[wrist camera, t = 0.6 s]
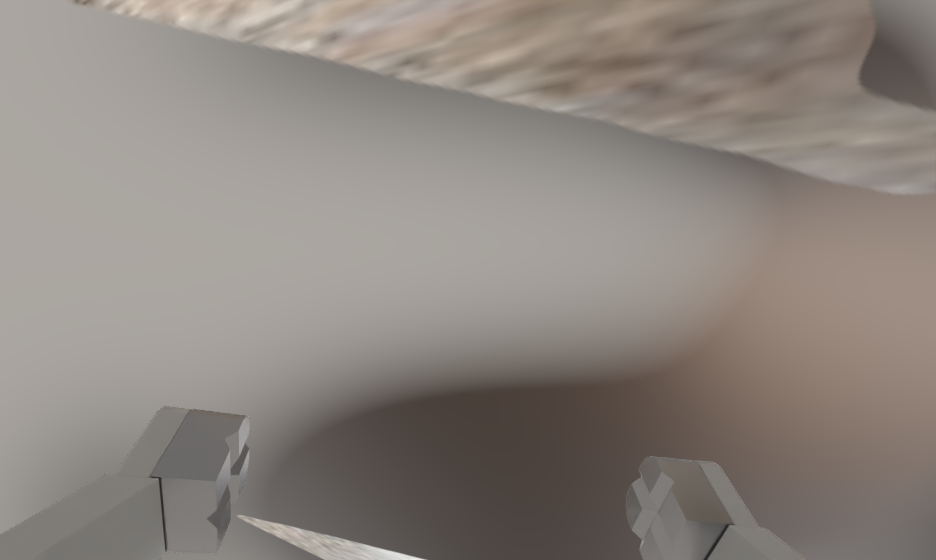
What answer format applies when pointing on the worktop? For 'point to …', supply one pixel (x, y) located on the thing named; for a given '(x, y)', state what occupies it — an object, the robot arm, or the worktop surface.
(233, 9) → the worktop surface
